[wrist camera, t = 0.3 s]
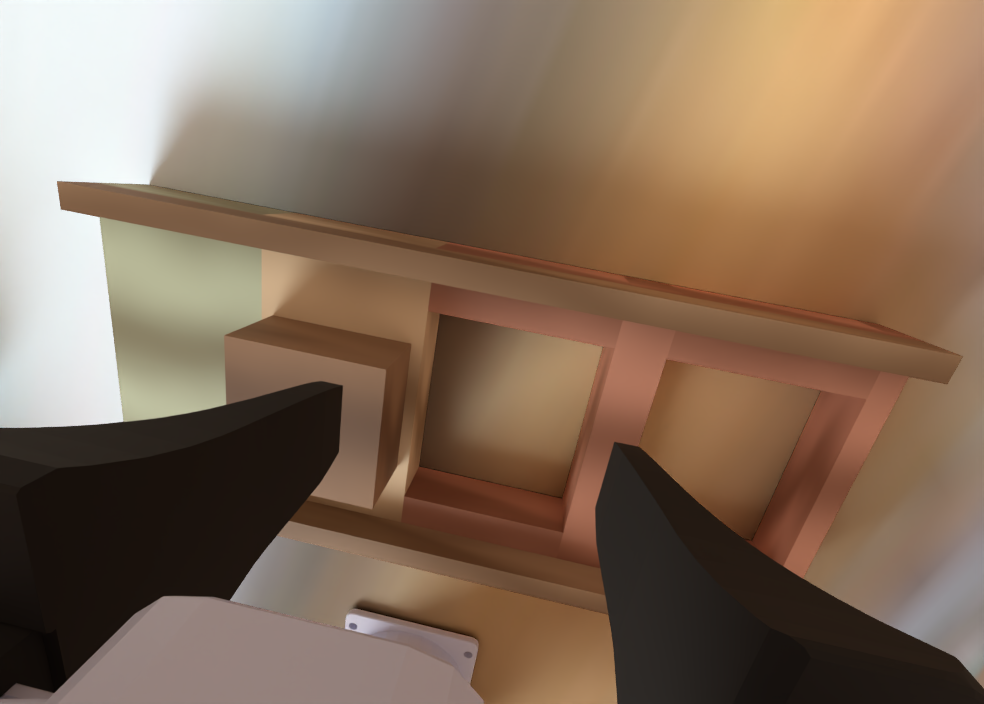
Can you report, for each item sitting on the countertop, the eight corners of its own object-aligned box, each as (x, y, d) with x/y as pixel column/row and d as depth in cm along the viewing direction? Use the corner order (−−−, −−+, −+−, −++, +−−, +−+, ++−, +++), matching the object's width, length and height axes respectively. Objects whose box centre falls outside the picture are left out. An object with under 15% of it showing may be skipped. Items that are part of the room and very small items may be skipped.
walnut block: (396, 467, 21) (372, 509, 18) (271, 438, 21) (228, 476, 18) (411, 343, 19) (386, 369, 16) (272, 315, 19) (224, 335, 16)
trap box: (754, 583, 23) (793, 658, 19) (169, 449, 25) (102, 493, 21) (879, 324, 18) (962, 356, 15) (148, 184, 20) (56, 181, 17)
